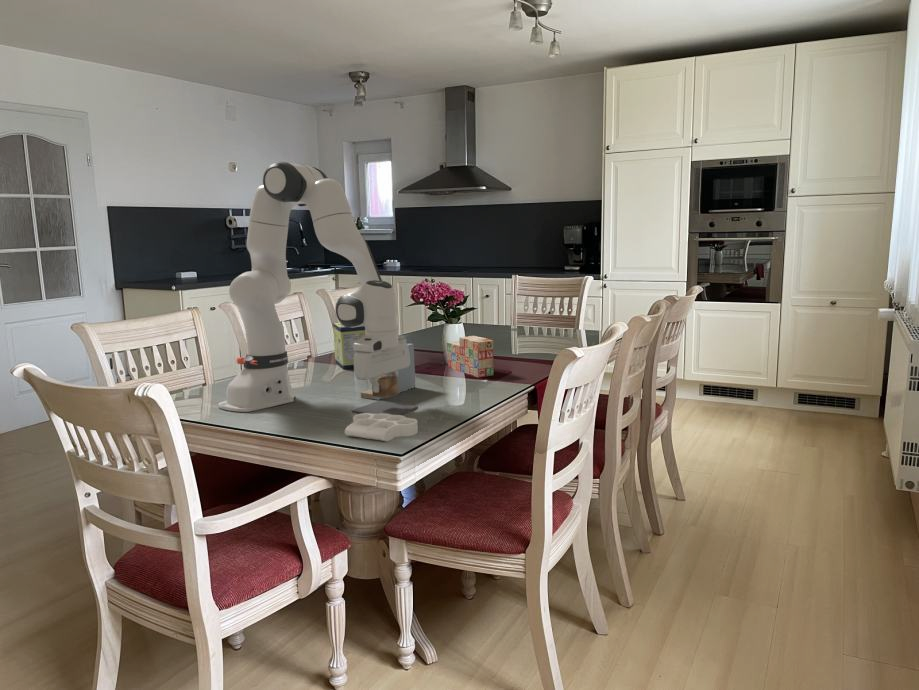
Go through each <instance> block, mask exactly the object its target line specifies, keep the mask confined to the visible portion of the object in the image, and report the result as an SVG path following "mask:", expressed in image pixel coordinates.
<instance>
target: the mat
mask: <svg viewBox="0 0 919 690" xmlns="http://www.w3.org/2000/svg"><path fill="white" fill-rule="evenodd" d="M417 408H418V409H419V405H414V404H413V405H412V404H405V403H400V402H394V401H386V400H385V401H384V400H376V401H374V402H371V403H368V404H365V405H363V406H360V407H357V408H355V409H352V410H351V413H352V414H362V413H370V414H381V413H384V414H391V415H402V416H403V415H405V414H407V413H410V412H412V411H414V410H418V409H417ZM404 413H405V414H404Z"/></svg>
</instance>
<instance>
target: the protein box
mask: <svg viewBox="0 0 919 690" xmlns="http://www.w3.org/2000/svg"><path fill="white" fill-rule="evenodd" d="M332 327H333V328H332V329H333V332H332V333H333V346H334V360H335V361H334V362H336V363H335V364H337V365H338V366H339V367H340V368H341V369H342V370H352V369H353V370H354V355H355V353H356V352H357V351H354V349H353V344H354V343H355V342H356V341H358V340H359V339H360V338H361V337H362V336H363V335H366V334H365V326H360V327H354V328H350V327H345V326H343V325H342V324H341V323H340V322H339V321H338V322H332Z"/></svg>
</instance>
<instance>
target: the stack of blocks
mask: <svg viewBox="0 0 919 690" xmlns="http://www.w3.org/2000/svg"><path fill="white" fill-rule="evenodd" d="M446 351H447V355H446V356H447V367H448V368H450V369H452V370H455V371H458V372H460V373H464V374H466V375H469V376H473V377H476V378H485V377H489V376H490V377H491V376H494V369H495V368H494V340H492V339H489V338H486V337H483V336H482V337H480V336H477V335H469V336H462V337H460V336H459V340H457V341H449V342H446Z"/></svg>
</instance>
